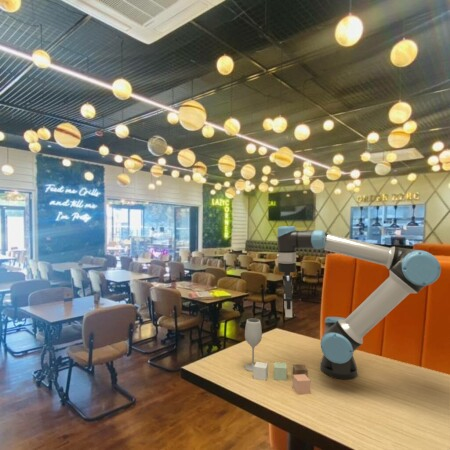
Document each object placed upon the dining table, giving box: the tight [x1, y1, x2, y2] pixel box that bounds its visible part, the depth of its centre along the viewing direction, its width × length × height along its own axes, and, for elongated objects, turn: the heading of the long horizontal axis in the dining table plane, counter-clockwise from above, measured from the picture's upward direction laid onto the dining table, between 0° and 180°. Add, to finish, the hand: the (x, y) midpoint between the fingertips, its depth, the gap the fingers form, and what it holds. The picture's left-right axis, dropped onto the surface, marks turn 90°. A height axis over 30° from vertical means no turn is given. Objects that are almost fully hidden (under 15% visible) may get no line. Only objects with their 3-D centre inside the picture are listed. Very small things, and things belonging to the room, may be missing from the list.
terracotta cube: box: [292, 374, 311, 395], centre depth 116 cm, size 5×5×5 cm
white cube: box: [253, 361, 269, 381], centre depth 127 cm, size 5×5×5 cm
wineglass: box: [244, 317, 263, 373], centre depth 135 cm, size 8×8×21 cm
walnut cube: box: [292, 364, 309, 378], centre depth 125 cm, size 5×5×5 cm
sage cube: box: [273, 361, 288, 382], centre depth 127 cm, size 5×5×5 cm
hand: (288, 312), depth 129 cm, fingers open, 13 cm apart
